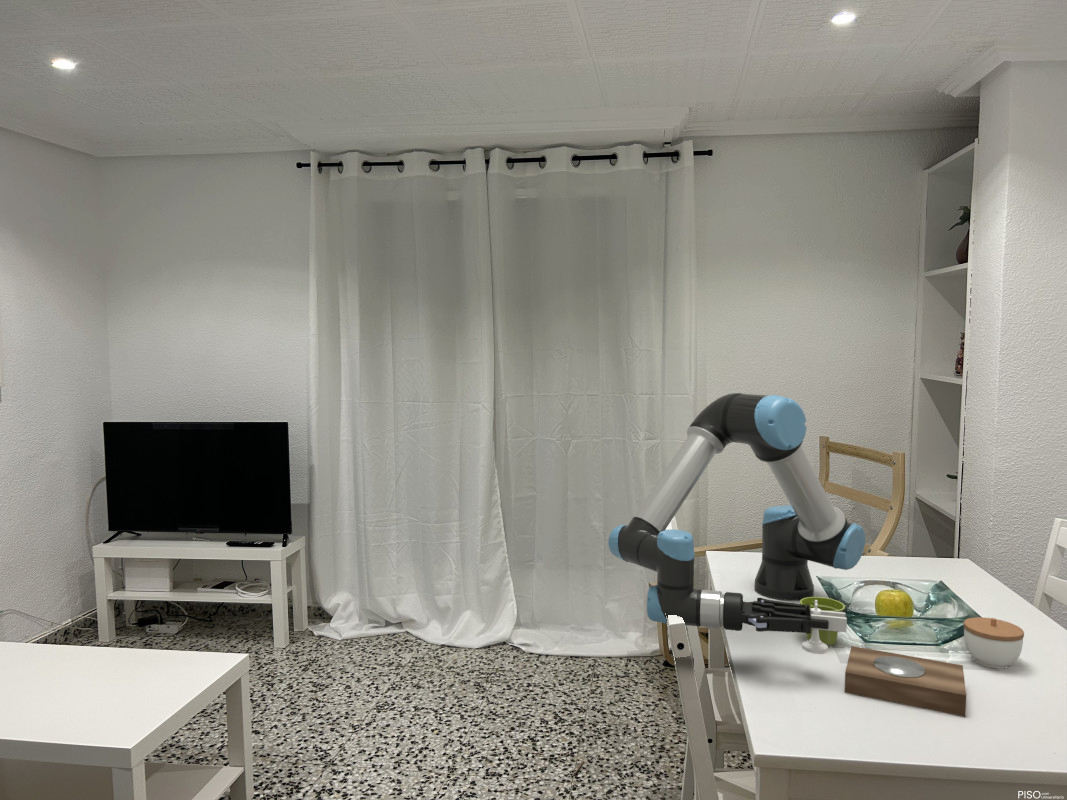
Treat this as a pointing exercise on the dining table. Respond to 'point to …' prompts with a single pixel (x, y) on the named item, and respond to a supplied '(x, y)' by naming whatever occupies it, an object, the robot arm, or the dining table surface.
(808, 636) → the plant pot
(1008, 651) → the lidded jar
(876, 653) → the walnut base
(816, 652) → the chess piece
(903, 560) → the dining table surface
